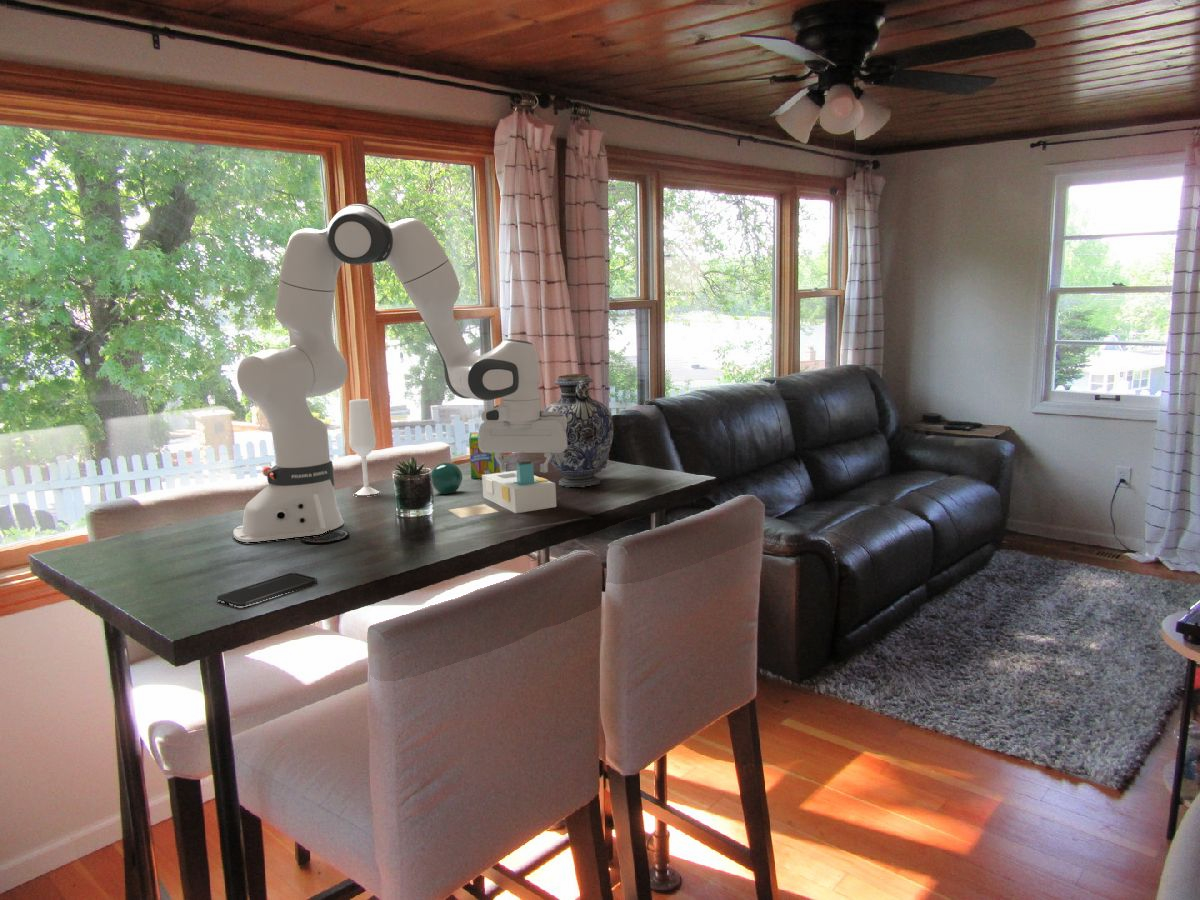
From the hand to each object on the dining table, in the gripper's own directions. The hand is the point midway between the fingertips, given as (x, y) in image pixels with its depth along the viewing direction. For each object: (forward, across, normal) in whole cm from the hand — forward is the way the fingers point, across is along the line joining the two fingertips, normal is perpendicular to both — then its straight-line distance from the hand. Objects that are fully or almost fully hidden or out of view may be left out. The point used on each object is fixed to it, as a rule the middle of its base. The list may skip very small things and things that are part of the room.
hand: (524, 471), depth 199 cm
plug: (+6, 0, 0) cm, 6 cm away
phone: (+9, +29, +60) cm, 67 cm away
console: (+8, +3, -4) cm, 10 cm away
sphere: (+9, +24, -15) cm, 30 cm away
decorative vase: (+9, -7, -27) cm, 29 cm away
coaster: (+9, +11, +5) cm, 15 cm away
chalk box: (+9, +21, -38) cm, 44 cm away
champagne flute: (+9, +46, -14) cm, 49 cm away
